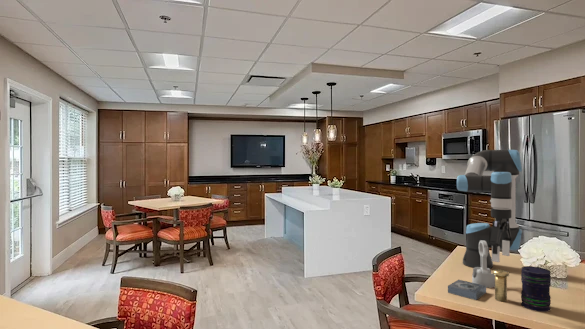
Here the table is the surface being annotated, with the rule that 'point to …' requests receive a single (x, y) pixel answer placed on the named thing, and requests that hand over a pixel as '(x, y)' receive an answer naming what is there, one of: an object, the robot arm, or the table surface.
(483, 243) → the engine component
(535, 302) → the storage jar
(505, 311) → the table surface
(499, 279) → the brass flared knob
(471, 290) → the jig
